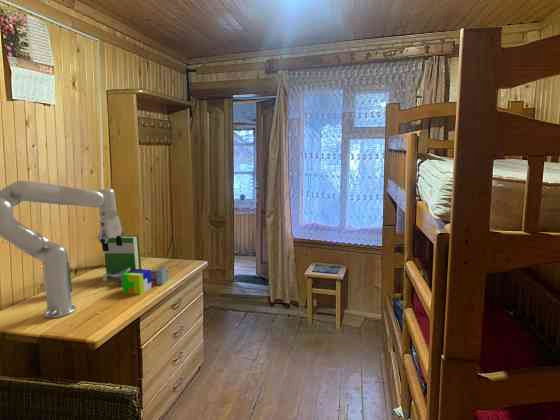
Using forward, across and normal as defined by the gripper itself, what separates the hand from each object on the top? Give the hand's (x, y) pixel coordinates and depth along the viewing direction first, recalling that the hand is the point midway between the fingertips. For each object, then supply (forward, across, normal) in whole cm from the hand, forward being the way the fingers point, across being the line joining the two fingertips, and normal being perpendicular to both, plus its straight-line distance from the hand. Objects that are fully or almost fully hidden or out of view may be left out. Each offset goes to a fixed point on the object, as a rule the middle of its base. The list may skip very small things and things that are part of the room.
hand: (112, 248), depth 189 cm
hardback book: (+25, +27, +18) cm, 41 cm away
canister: (+24, -5, +30) cm, 39 cm away
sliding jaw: (+25, +15, +13) cm, 32 cm away
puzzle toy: (+25, +8, -5) cm, 27 cm away
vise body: (+25, +20, +3) cm, 32 cm away
